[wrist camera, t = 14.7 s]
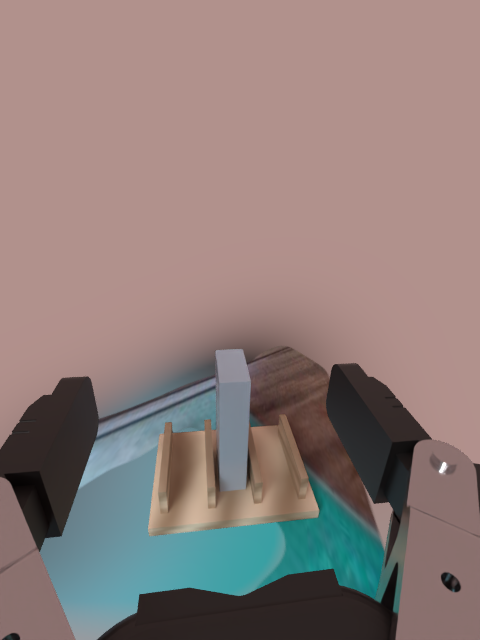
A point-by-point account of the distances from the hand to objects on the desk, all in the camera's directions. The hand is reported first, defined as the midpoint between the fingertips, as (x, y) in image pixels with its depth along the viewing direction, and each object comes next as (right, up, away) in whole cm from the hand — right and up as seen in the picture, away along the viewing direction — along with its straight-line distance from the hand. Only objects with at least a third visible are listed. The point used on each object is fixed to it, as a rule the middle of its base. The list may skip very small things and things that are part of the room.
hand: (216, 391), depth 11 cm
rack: (0, -17, +30) cm, 34 cm away
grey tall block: (0, -16, +29) cm, 33 cm away
